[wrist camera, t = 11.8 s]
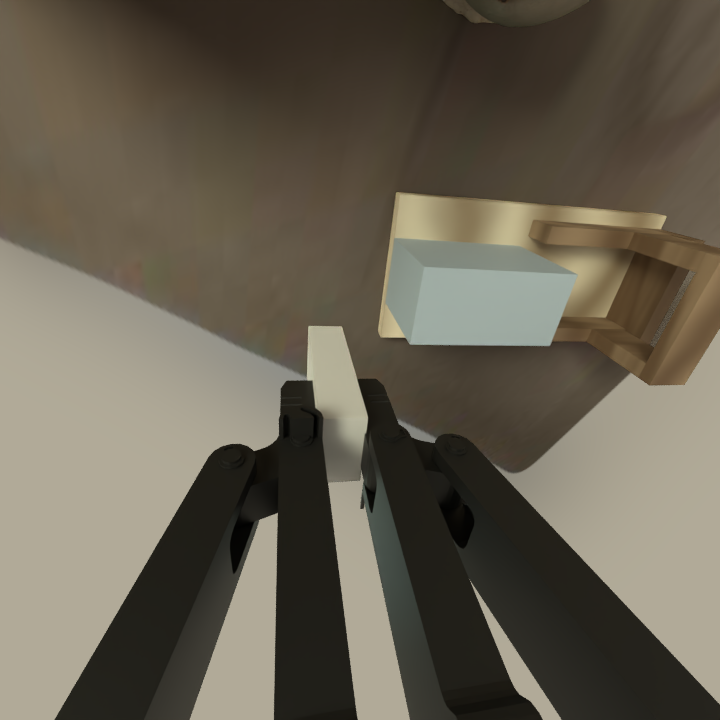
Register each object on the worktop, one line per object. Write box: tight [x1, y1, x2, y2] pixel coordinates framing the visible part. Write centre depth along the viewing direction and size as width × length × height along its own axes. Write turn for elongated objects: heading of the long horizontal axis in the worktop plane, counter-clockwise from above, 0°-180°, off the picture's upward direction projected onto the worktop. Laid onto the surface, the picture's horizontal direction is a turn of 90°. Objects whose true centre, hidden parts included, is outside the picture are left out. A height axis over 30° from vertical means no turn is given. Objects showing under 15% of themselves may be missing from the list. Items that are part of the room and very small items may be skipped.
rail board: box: [378, 192, 720, 385], centre depth 28 cm, size 22×11×10 cm, turn 84°
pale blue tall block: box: [385, 238, 578, 346], centre depth 27 cm, size 10×5×7 cm, turn 84°
